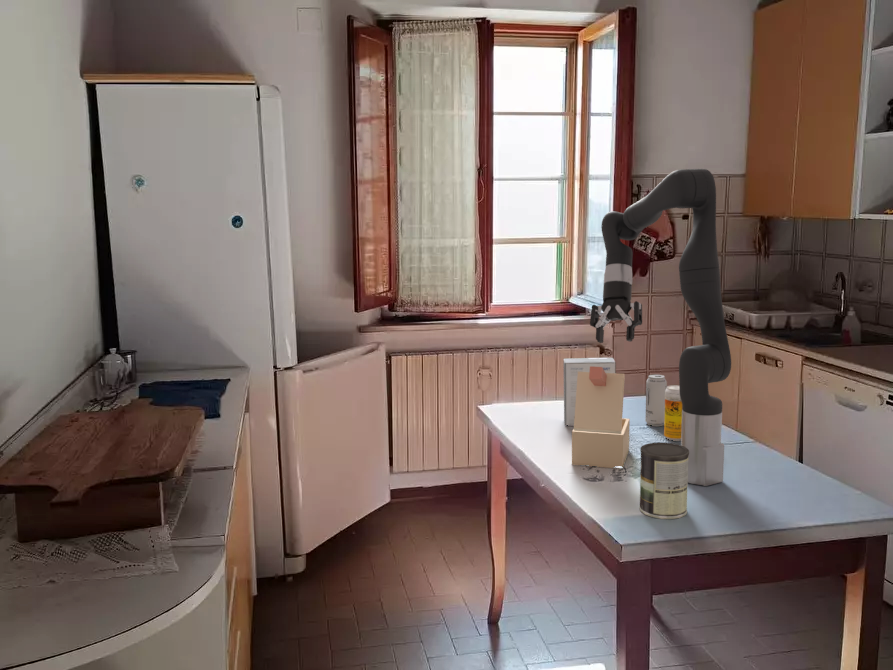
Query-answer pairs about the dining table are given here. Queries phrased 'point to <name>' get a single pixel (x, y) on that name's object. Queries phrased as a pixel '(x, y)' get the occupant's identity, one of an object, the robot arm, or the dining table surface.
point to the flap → (599, 401)
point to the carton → (601, 447)
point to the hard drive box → (570, 380)
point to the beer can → (673, 413)
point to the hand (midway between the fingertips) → (614, 341)
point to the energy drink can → (655, 400)
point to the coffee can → (664, 480)
